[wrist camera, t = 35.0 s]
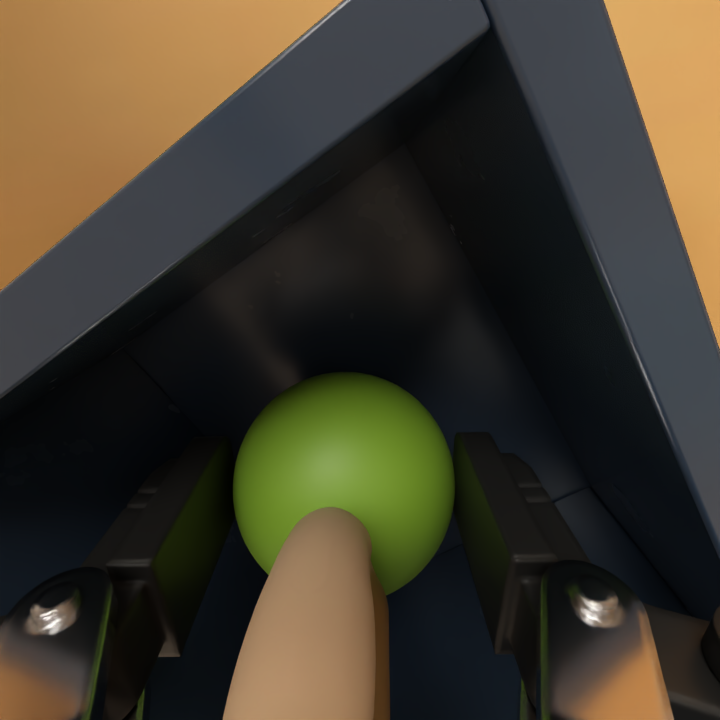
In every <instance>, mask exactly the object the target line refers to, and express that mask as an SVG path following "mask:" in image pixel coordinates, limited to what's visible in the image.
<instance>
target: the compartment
mask: <svg viewBox="0 0 720 720" xmlns="http://www.w3.org/2000/svg"><path fill="white" fill-rule="evenodd" d="M333 372H357V373H364V374H369V375H373V376H376V377H380V378H382V379H385V380H387V381H390V382H392V383H394V384H396V385H397V386H399V387H401V388H402V389H404V390H405V391H407V392H408V393H410V394H411V395H412V396H413V397H415V398H416V399H417V400H418V401H419V402H420V403H421V404H422V405H423V406H424V407H425V408H426V409H427V410H428V412H429V413H430V414H431V415H432V417H433V418H434V420H435V421H436V423H437V424H438V426H439V428H440V429H441V431H442V433H443V435H444V437H445V440H446V442H447V445H448V447H449V450H450V454H451V457H452V462H453V451H454V440H455V435H456V433H460V432H489V433H490V434H491V436H492V438H493V439H494V441H495V443H496V445H497V447H498V449H499V451H500V452H501V453H514V454H515V455H517V456H518V457H519V458H520V459H522V460H523V461H524V462H525V463H527V464H528V465H529V466H531V467H532V469H533V471H534V472H535V474H536V475H537V477H538V479H539V480H540V482H541V483H542V487H543V488H545V490H546V491H547V493H548V494H549V496H550V498H551V502H552V503H554V504H555V506H556V507H557V509H558V510H559V512H560V514H561V515H562V517H563V518H564V520H565V522H566V523H567V525H568V526H569V528H570V530H571V531H572V533H573V534H574V536H575V538H576V539H577V541H578V542H579V544H580V546H581V547H582V549H583V550H584V552H585V554H586V555H587V557H588V558H589V560H590V561H591V563H592V564H594V565H597V566H599V567H601V568H604V569H606V570H607V571H609V572H611V573H612V574H614V575H615V576H617V577H618V578H620V579H621V580H622V581H623V582H624V583H626V584H627V585H628V586H629V587H630V588H631V589H632V590H633V591H634V593H635V594H636V595H637V596H638V598H639V599H640V601H641V602H643V603H646V604H648V605H652V606H655V607H658V608H661V609H665V610H669V611H673V612H676V613H680V614H684V615H687V616H691V617H695V618H699V619H702V620H706V621H711V619H712V617H713V615H714V613H715V611H716V609H717V608H718V607H719V606H720V349H719V346H718V343H717V340H716V337H715V334H714V331H713V328H712V325H711V322H710V319H709V316H708V313H707V310H706V307H705V304H704V301H703V298H702V295H701V292H700V289H699V286H698V283H697V280H696V277H695V274H694V271H693V268H692V265H691V262H690V259H689V256H688V253H687V250H686V247H685V244H684V241H683V238H682V235H681V232H680V229H679V226H678V223H677V220H676V217H675V214H674V211H673V208H672V205H671V202H670V199H669V196H668V193H667V190H666V187H665V184H664V181H663V178H662V175H661V172H660V169H659V166H658V163H657V160H656V157H655V154H654V151H653V148H652V145H651V142H650V139H649V136H648V133H647V130H646V127H645V124H644V121H643V118H642V115H641V111H640V108H639V105H638V102H637V99H636V96H635V93H634V90H633V87H632V84H631V81H630V78H629V75H628V72H627V69H626V66H625V63H624V60H623V57H622V54H621V51H620V48H619V45H618V42H617V39H616V36H615V33H614V30H613V27H612V24H611V21H610V18H609V15H608V12H607V9H606V6H605V3H604V0H343V1H342V2H340V3H339V4H338V5H337V6H336V7H334V8H333V9H332V10H331V11H330V12H329V13H327V14H326V15H325V16H324V17H323V18H322V19H320V20H319V21H318V22H317V23H316V24H314V25H313V26H312V27H311V28H310V29H309V30H307V31H306V32H305V33H304V34H303V35H301V36H300V37H299V38H298V39H297V40H296V41H294V42H293V43H292V44H291V45H290V46H288V47H287V48H286V49H285V50H284V51H283V52H281V53H280V54H279V55H278V56H277V57H276V58H274V59H273V60H272V61H271V62H270V63H268V64H267V65H266V66H265V67H264V68H263V69H261V70H260V71H259V72H258V73H257V74H255V75H254V76H253V77H252V78H251V79H250V80H248V81H247V82H246V83H245V84H244V85H243V86H241V87H240V88H239V89H238V90H237V91H235V92H234V93H233V94H232V95H231V96H230V97H228V98H227V99H226V100H225V101H224V102H222V103H221V104H220V105H219V106H218V107H217V108H215V109H214V110H213V111H212V112H211V113H210V114H208V115H207V116H206V117H205V118H204V119H202V120H201V121H200V122H199V123H198V124H197V125H195V126H194V127H193V128H192V129H191V130H189V131H188V132H187V133H186V134H185V135H184V136H182V137H181V138H180V139H179V140H178V141H176V142H175V143H174V144H173V145H172V146H171V147H169V148H168V149H167V150H166V151H165V152H164V153H162V154H161V155H160V156H159V157H158V158H156V159H155V160H154V161H153V162H152V163H151V164H149V165H148V166H147V167H146V168H145V169H143V170H142V171H141V172H140V173H139V174H138V175H136V176H135V177H134V178H133V179H132V180H131V181H129V182H128V183H127V184H126V185H125V186H123V187H122V188H121V189H120V190H119V191H118V192H116V193H115V194H114V195H113V196H112V197H110V198H109V199H108V200H107V201H106V202H105V203H103V204H102V205H101V206H100V207H99V208H98V209H96V210H95V211H94V212H93V213H92V214H90V215H89V216H88V217H87V218H86V219H85V220H83V221H82V222H81V223H80V224H79V225H77V226H76V227H75V228H74V229H73V230H72V231H70V232H69V233H68V234H67V235H66V236H65V237H63V238H62V239H61V240H60V241H59V242H57V243H56V244H55V245H54V246H53V247H52V248H50V249H49V250H48V251H47V252H46V253H44V254H43V255H42V256H41V257H40V258H39V259H37V260H36V261H35V262H34V263H33V264H31V265H30V266H29V267H28V268H27V269H26V270H24V271H23V272H22V273H21V274H20V275H19V276H17V277H16V278H15V279H14V280H13V281H11V282H10V283H9V284H8V285H7V286H6V287H4V288H3V289H2V290H1V291H0V617H1V616H4V615H8V613H9V612H10V610H11V609H12V608H13V607H14V606H15V605H16V603H17V602H18V601H19V600H20V599H21V598H22V597H24V596H25V595H26V594H27V593H28V592H30V591H31V590H32V589H33V588H35V587H36V586H38V585H39V584H41V583H42V582H44V581H46V580H47V579H49V578H51V577H53V576H55V575H57V574H60V573H62V572H65V571H68V570H71V569H75V568H79V567H80V566H81V565H82V563H83V562H84V561H85V559H86V558H87V557H88V555H89V554H90V553H91V551H92V550H93V549H94V547H95V546H96V545H97V544H98V542H99V541H100V540H101V538H102V537H103V536H104V534H105V533H106V532H107V530H108V529H109V528H110V526H111V525H112V524H113V522H114V521H115V520H116V518H117V517H118V516H119V514H120V513H121V512H122V511H123V509H126V508H127V504H128V503H129V501H130V500H131V499H132V497H133V496H134V495H135V494H137V493H138V489H139V488H140V487H141V485H142V484H143V483H144V481H145V480H146V479H147V478H148V476H149V475H150V474H151V473H152V472H153V471H154V470H156V469H157V468H158V467H160V466H161V465H162V464H164V463H165V462H167V461H168V460H169V459H171V458H179V457H180V456H181V454H182V453H183V451H184V450H185V449H186V447H187V446H188V444H189V443H190V441H191V440H192V439H193V438H194V437H212V436H227V437H228V438H229V440H230V442H231V446H232V452H233V457H234V463H235V464H236V459H237V456H238V452H239V449H240V447H241V444H242V442H243V439H244V437H245V435H246V433H247V431H248V430H249V428H250V426H251V425H252V423H253V422H254V420H255V419H256V417H257V416H258V415H259V413H260V412H261V411H262V410H263V409H264V408H265V407H266V406H267V405H268V404H269V403H270V402H271V401H272V400H273V399H274V398H275V397H276V396H278V395H279V394H280V393H282V392H283V391H285V390H286V389H288V388H289V387H291V386H293V385H295V384H297V383H298V382H301V381H303V380H305V379H308V378H311V377H314V376H317V375H321V374H326V373H333ZM268 576H269V575H268V574H267V573H266V572H265V571H264V570H263V569H262V568H261V566H260V565H259V564H258V563H257V562H256V560H255V559H254V557H253V556H252V554H251V553H250V551H249V549H248V548H247V546H246V544H245V542H244V540H243V537H242V535H241V532H240V530H239V527H238V524H237V520H236V516H235V518H234V521H233V523H232V526H231V528H230V531H229V534H228V536H227V539H226V541H225V544H224V546H223V549H222V551H221V554H220V557H219V559H218V562H217V564H216V567H215V569H214V572H213V574H212V577H211V579H210V582H209V585H208V587H207V590H206V592H205V595H204V597H203V600H202V602H201V605H200V608H199V610H198V613H197V615H196V618H195V620H194V623H193V625H192V628H191V631H190V633H189V636H188V638H187V641H186V643H185V646H184V648H183V651H182V654H181V656H180V657H158V658H157V660H156V663H155V665H154V667H153V669H152V672H151V674H150V676H149V678H148V679H149V682H150V686H151V700H150V715H149V720H223V715H224V710H225V706H226V702H227V697H228V693H229V689H230V685H231V681H232V677H233V674H234V670H235V667H236V663H237V660H238V656H239V653H240V650H241V647H242V644H243V641H244V638H245V635H246V632H247V629H248V626H249V623H250V620H251V618H252V615H253V612H254V609H255V607H256V604H257V602H258V599H259V597H260V594H261V592H262V590H263V587H264V585H265V583H266V580H267V578H268ZM386 598H387V602H388V608H389V674H390V720H517V706H518V688H519V682H520V677H521V674H520V671H519V668H518V665H517V662H516V659H515V656H514V654H495V652H494V649H493V645H492V642H491V638H490V635H489V631H488V628H487V625H486V621H485V618H484V614H483V611H482V607H481V604H480V601H479V597H478V594H477V590H476V587H475V583H474V580H473V577H472V573H471V570H470V566H469V563H468V559H467V556H466V553H465V549H464V546H463V542H462V539H461V535H460V532H459V529H458V525H457V522H456V518H455V515H454V511H453V512H452V517H451V520H450V524H449V527H448V530H447V532H446V535H445V537H444V539H443V541H442V543H441V545H440V547H439V548H438V550H437V552H436V553H435V555H434V556H433V558H432V559H431V560H430V562H429V563H428V564H427V565H426V567H425V568H424V569H423V570H422V571H421V572H420V573H419V574H418V575H417V576H416V577H415V578H413V579H412V580H411V581H410V582H408V583H407V584H406V585H404V586H403V587H401V588H400V589H398V590H396V591H395V592H393V593H391V594H389V595H386Z"/></svg>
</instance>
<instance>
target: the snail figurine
mask: <svg viewBox="0 0 720 720" xmlns="http://www.w3.org/2000/svg"><path fill="white" fill-rule="evenodd" d="M454 499H455V474H454V467H453V462H452V457H451V454H450V450H449V447H448V445H447V442H446V440H445V437H444V435H443V433H442V431H441V429H440V428H439V426H438V424H437V423H436V421H435V420H434V418H433V417H432V415H431V414H430V413H429V412H428V410H427V409H426V408H425V407H424V406H423V405H422V404H421V403H420V402H419V401H418V400H417V399H416V398H415V397H413V396H412V395H411V394H410V393H408V392H407V391H405V390H404V389H402V388H401V387H399V386H397V385H396V384H394V383H392V382H390V381H387V380H385V379H382V378H380V377H376V376H373V375H369V374H364V373H357V372H333V373H326V374H321V375H317V376H314V377H311V378H308V379H305V380H303V381H301V382H298V383H297V384H295V385H293V386H291V387H289V388H288V389H286V390H285V391H283V392H282V393H280V394H279V395H278V396H276V397H275V398H274V399H273V400H272V401H271V402H270V403H269V404H268V405H267V406H266V407H265V408H264V409H263V410H262V411H261V412H260V413H259V415H258V416H257V417H256V419H255V420H254V422H253V423H252V425H251V426H250V428H249V430H248V431H247V433H246V435H245V437H244V439H243V442H242V444H241V447H240V449H239V452H238V456H237V459H236V464H235V469H234V475H233V504H234V511H235V516H236V520H237V524H238V527H239V530H240V532H241V535H242V537H243V540H244V542H245V544H246V546H247V548H248V549H249V551H250V553H251V554H252V556H253V557H254V559H255V560H256V562H257V563H258V564H259V565H260V566H261V568H262V569H263V570H264V571H265V572H266V573H267V574H268V575H269V576H268V578H267V580H266V583H265V585H264V587H263V590H262V592H261V594H260V597H259V599H258V602H257V604H256V607H255V609H254V612H253V615H252V618H251V620H250V623H249V626H248V629H247V632H246V635H245V638H244V641H243V644H242V647H241V650H240V653H239V656H238V660H237V663H236V667H235V670H234V674H233V677H232V681H231V685H230V689H229V693H228V697H227V702H226V706H225V710H224V715H223V720H390V674H389V608H388V602H387V598H386V595H389V594H391V593H393V592H395V591H396V590H398V589H400V588H401V587H403V586H404V585H406V584H407V583H408V582H410V581H411V580H412V579H413V578H415V577H416V576H417V575H418V574H419V573H420V572H421V571H422V570H423V569H424V568H425V567H426V565H427V564H428V563H429V562H430V560H431V559H432V558H433V556H434V555H435V553H436V552H437V550H438V548H439V547H440V545H441V543H442V541H443V539H444V537H445V535H446V532H447V530H448V527H449V524H450V520H451V517H452V512H453V507H454Z"/></svg>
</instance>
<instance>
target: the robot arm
mask: <svg viewBox="0 0 720 720" xmlns="http://www.w3.org/2000/svg"><path fill="white" fill-rule="evenodd" d="M453 467H454V474H455V499H454V507H453V511H454V515H455V518H456V522H457V525H458V529H459V532H460V535H461V539H462V542H463V546H464V549H465V553H466V556H467V559H468V563H469V566H470V570H471V573H472V577H473V580H474V583H475V587H476V590H477V594H478V597H479V601H480V604H481V607H482V611H483V614H484V618H485V621H486V625H487V628H488V631H489V635H490V638H491V642H492V645H493V649H494V652H495V654H514V656H515V659H516V662H517V665H518V668H519V671H520V674H521V677H520V682H519V688H518V706H517V720H720V606H719V607H718V608H717V609H716V611H715V613H714V615H713V617H712V619H711V621H706V620H702V619H699V618H695V617H691V616H687V615H684V614H680V613H676V612H673V611H669V610H665V609H661V608H658V607H655V606H652V605H648V604H646V603H643V602H641V601H640V599H639V598H638V596H637V595H636V594H635V593H634V591H633V590H632V589H631V588H630V587H629V586H628V585H627V584H626V583H624V582H623V581H622V580H621V579H620V578H618V577H617V576H615V575H614V574H612V573H611V572H609V571H607V570H606V569H604V568H601V567H599V566H597V565H594V564H592V563H591V561H590V560H589V558H588V557H587V555H586V554H585V552H584V550H583V549H582V547H581V546H580V544H579V542H578V541H577V539H576V538H575V536H574V534H573V533H572V531H571V530H570V528H569V526H568V525H567V523H566V522H565V520H564V518H563V517H562V515H561V514H560V512H559V510H558V509H557V507H556V506H555V504H554V503H552V502H551V498H550V496H549V494H548V493H547V491H546V490H545V488H543V487H542V483H541V482H540V480H539V479H538V477H537V475H536V474H535V472H534V471H533V469H532V467H531V466H529V465H528V464H527V463H525V462H524V461H523V460H522V459H520V458H519V457H518V456H517V455H515V454H514V453H501V452H500V451H499V449H498V447H497V445H496V443H495V441H494V439H493V438H492V436H491V434H490V433H489V432H460V433H456V435H455V440H454V451H453ZM234 469H235V463H234V457H233V452H232V446H231V442H230V440H229V438H228V437H227V436H212V437H194V438H193V439H192V440H191V441H190V443H189V444H188V446H187V447H186V449H185V450H184V451H183V453H182V454H181V456H180V457H179V458H171V459H169V460H168V461H167V462H165V463H164V464H162V465H161V466H160V467H158V468H157V469H156V470H154V471H153V472H152V473H151V474H150V475H149V476H148V478H147V479H146V480H145V481H144V483H143V484H142V485H141V487H140V488H139V489H138V493H137V494H135V495H134V496H133V497H132V499H131V500H130V501H129V503H128V504H127V508H126V509H123V511H122V512H121V513H120V514H119V516H118V517H117V518H116V520H115V521H114V522H113V524H112V525H111V526H110V528H109V529H108V530H107V532H106V533H105V534H104V536H103V537H102V538H101V540H100V541H99V542H98V544H97V545H96V546H95V547H94V549H93V550H92V551H91V553H90V554H89V555H88V557H87V558H86V559H85V561H84V562H83V563H82V565H81V566H80V567H79V568H75V569H71V570H68V571H65V572H62V573H60V574H57V575H55V576H53V577H51V578H49V579H47V580H46V581H44V582H42V583H41V584H39V585H38V586H36V587H35V588H33V589H32V590H31V591H30V592H28V593H27V594H26V595H25V596H24V597H22V598H21V599H20V600H19V601H18V602H17V603H16V605H15V606H14V607H13V608H12V609H11V610H10V612H9V613H8V615H4V616H1V617H0V720H149V715H150V700H151V686H150V682H149V679H148V678H149V676H150V674H151V672H152V669H153V667H154V665H155V663H156V660H157V658H158V657H180V656H181V654H182V651H183V648H184V646H185V643H186V641H187V638H188V636H189V633H190V631H191V628H192V625H193V623H194V620H195V618H196V615H197V613H198V610H199V608H200V605H201V602H202V600H203V597H204V595H205V592H206V590H207V587H208V585H209V582H210V579H211V577H212V574H213V572H214V569H215V567H216V564H217V562H218V559H219V557H220V554H221V551H222V549H223V546H224V544H225V541H226V539H227V536H228V534H229V531H230V528H231V526H232V523H233V521H234V518H235V511H234V504H233V475H234Z"/></svg>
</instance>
